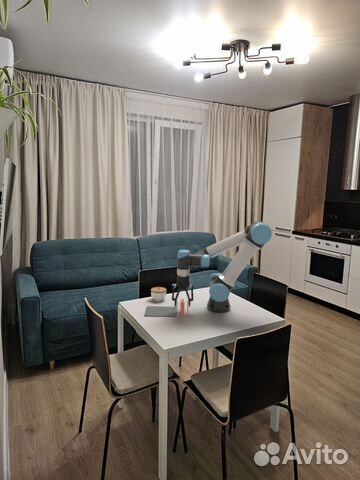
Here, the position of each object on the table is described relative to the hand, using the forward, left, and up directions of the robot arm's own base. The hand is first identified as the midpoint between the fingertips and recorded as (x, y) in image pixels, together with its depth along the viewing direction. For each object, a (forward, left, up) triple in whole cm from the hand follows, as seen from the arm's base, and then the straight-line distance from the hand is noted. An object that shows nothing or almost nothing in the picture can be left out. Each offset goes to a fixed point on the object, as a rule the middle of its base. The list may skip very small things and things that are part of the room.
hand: (182, 311), depth 202 cm
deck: (0, 0, -2) cm, 2 cm away
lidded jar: (+16, -24, -2) cm, 29 cm away
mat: (+13, -2, -1) cm, 13 cm away
